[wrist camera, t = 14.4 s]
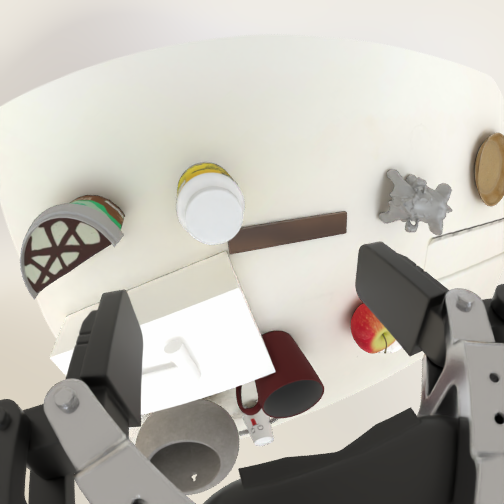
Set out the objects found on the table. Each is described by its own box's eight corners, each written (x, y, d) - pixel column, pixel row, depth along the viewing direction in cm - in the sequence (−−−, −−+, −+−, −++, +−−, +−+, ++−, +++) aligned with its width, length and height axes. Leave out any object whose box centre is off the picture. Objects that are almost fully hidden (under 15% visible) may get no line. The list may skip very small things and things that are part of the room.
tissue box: (259, 330, 44) (281, 384, 34) (118, 379, 42) (113, 433, 32) (225, 250, 37) (243, 300, 27) (66, 316, 35) (44, 370, 26)
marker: (374, 346, 54) (431, 319, 56) (375, 356, 54) (432, 327, 56) (380, 349, 51) (438, 320, 53) (381, 359, 51) (439, 329, 53)
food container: (109, 164, 29) (82, 182, 20) (135, 209, 32) (120, 243, 23) (34, 218, 29) (-4, 253, 20) (60, 257, 32) (31, 301, 23)
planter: (220, 376, 46) (243, 475, 30) (233, 397, 50) (257, 486, 33) (126, 401, 45) (124, 493, 28) (145, 420, 48) (149, 505, 32)
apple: (341, 301, 45) (373, 340, 36) (384, 283, 46) (420, 317, 37) (341, 336, 49) (369, 376, 40) (381, 319, 50) (411, 354, 41)
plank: (226, 230, 36) (227, 231, 35) (344, 211, 38) (347, 212, 38) (229, 252, 37) (230, 254, 36) (344, 231, 40) (346, 233, 39)
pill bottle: (238, 170, 33) (265, 193, 23) (221, 219, 35) (238, 261, 25) (186, 154, 31) (189, 169, 21) (170, 205, 33) (166, 244, 23)
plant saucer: (503, 190, 46) (511, 194, 43) (469, 212, 45) (478, 216, 43) (500, 125, 39) (510, 127, 36) (465, 137, 38) (476, 140, 35)
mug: (239, 380, 48) (253, 432, 38) (217, 349, 43) (230, 406, 34) (303, 352, 48) (328, 400, 38) (289, 317, 44) (317, 369, 34)
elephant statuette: (372, 171, 37) (408, 185, 30) (430, 157, 38) (466, 169, 31) (376, 231, 41) (408, 253, 34) (431, 211, 42) (463, 228, 36)
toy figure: (274, 386, 51) (288, 422, 43) (285, 398, 53) (299, 432, 46) (218, 412, 51) (226, 448, 43) (233, 422, 53) (241, 456, 46)
